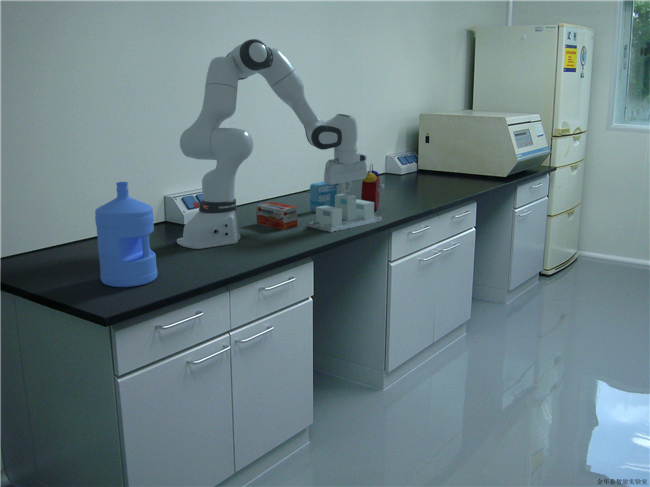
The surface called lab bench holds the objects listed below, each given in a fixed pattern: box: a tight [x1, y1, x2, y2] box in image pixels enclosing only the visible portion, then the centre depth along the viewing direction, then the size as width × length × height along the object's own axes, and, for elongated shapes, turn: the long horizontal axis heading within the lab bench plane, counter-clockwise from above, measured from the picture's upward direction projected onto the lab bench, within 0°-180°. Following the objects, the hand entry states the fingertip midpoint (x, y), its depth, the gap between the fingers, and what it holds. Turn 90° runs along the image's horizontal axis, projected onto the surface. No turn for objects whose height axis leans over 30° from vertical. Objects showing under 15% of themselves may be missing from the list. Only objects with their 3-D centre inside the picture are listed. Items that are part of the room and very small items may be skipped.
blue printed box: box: [309, 181, 338, 213], centre depth 280 cm, size 12×4×12 cm, turn 136°
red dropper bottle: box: [360, 163, 385, 211], centre depth 280 cm, size 15×9×20 cm, turn 168°
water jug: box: [94, 181, 158, 288], centre depth 185 cm, size 16×16×28 cm
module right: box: [356, 198, 375, 219], centre depth 262 cm, size 5×9×6 cm, turn 44°
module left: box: [315, 205, 342, 227], centre depth 250 cm, size 5×9×6 cm, turn 44°
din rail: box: [307, 213, 383, 233], centre depth 257 cm, size 28×13×2 cm, turn 134°
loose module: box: [335, 193, 357, 220], centre depth 255 cm, size 5×7×9 cm, turn 44°
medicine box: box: [256, 201, 298, 231], centre depth 254 cm, size 15×8×8 cm, turn 47°
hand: (345, 193), depth 254 cm, fingers closed
